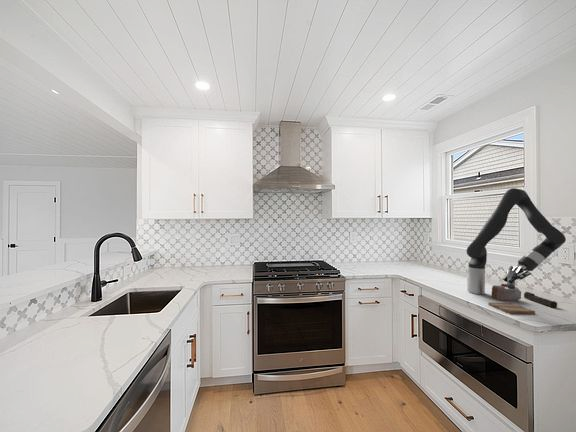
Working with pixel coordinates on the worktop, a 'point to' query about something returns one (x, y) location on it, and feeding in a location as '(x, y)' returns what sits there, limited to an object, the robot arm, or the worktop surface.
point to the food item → (505, 293)
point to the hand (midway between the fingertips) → (506, 281)
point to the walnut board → (511, 308)
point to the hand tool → (540, 300)
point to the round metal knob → (510, 286)
